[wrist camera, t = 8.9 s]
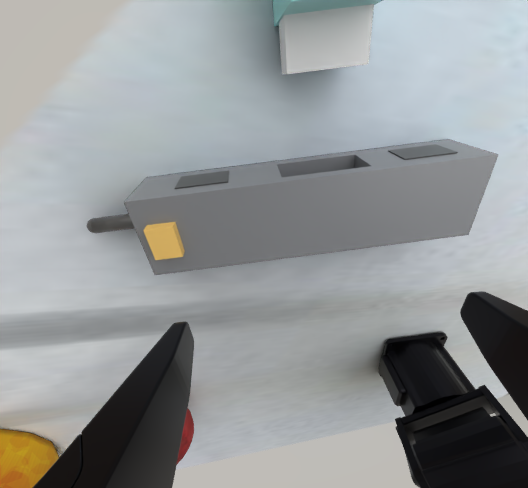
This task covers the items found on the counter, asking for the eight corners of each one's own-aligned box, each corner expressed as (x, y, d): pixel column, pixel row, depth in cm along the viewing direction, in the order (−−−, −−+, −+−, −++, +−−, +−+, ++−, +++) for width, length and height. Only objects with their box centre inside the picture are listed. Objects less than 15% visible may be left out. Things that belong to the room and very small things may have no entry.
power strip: (448, 138, 17) (508, 156, 13) (430, 208, 20) (475, 239, 16) (77, 184, 17) (29, 217, 13) (110, 249, 20) (78, 290, 16)
